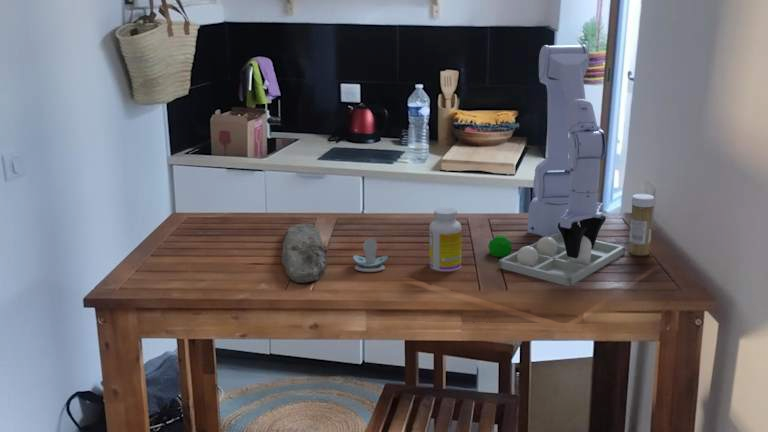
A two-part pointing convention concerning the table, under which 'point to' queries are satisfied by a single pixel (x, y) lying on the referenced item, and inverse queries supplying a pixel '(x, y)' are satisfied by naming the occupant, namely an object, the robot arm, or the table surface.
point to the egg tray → (563, 262)
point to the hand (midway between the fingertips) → (580, 252)
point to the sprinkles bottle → (641, 224)
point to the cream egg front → (527, 256)
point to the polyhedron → (500, 247)
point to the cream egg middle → (547, 246)
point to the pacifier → (369, 258)
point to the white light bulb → (583, 252)
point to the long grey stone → (304, 253)
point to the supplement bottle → (445, 240)
